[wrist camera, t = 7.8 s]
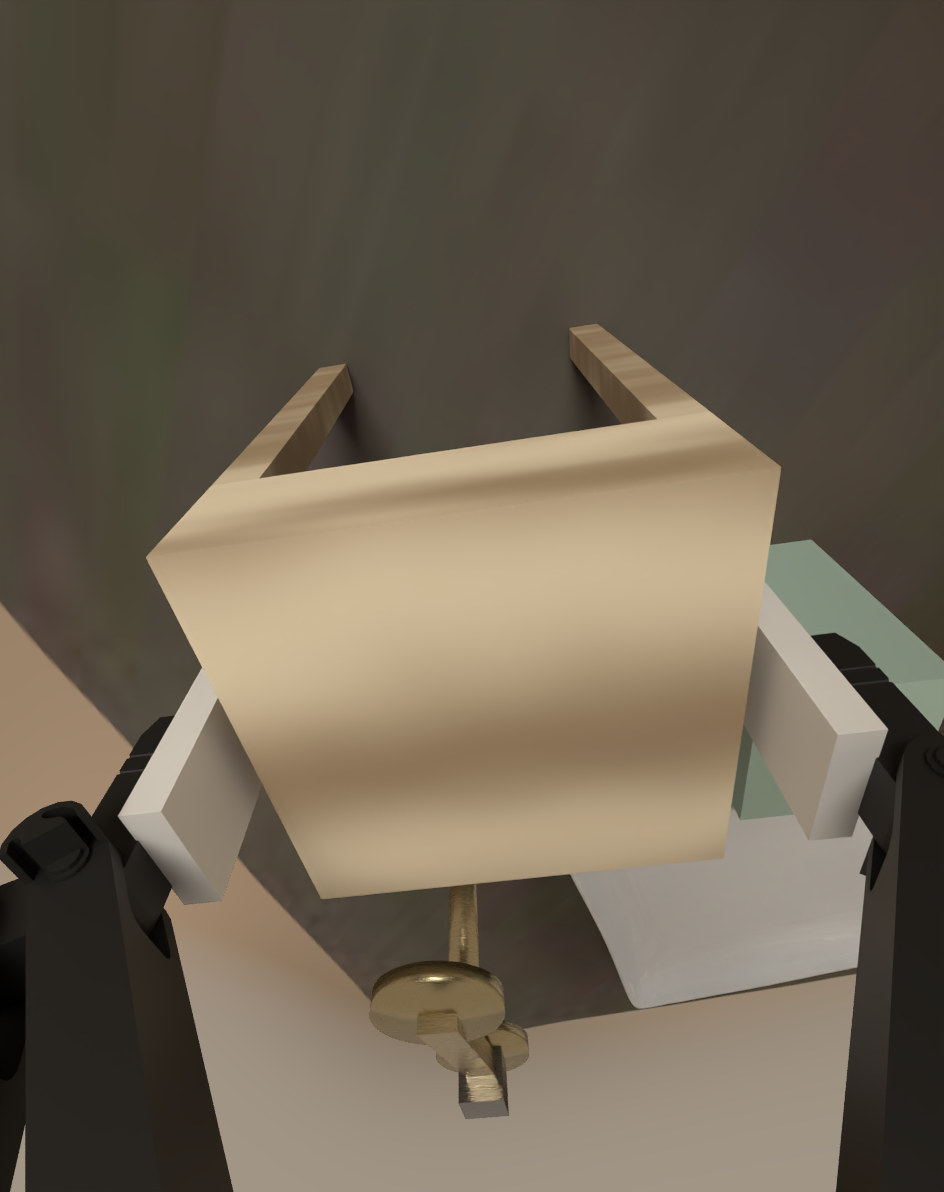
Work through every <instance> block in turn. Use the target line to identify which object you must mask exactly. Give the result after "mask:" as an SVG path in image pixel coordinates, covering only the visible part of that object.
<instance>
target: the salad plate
mask: <svg viewBox="0 0 944 1192" xmlns="http://www.w3.org/2000/svg"><path fill="white" fill-rule="evenodd" d="M872 838H873V836H872V834H871V833H870V831H869V830H868V828H867V827H866V825H865V824H864V822H863V821H862V819H861V818H860V816H859V817H858V820H857V823H856V826H855V829H854V832H853V835H852V837H842V838H832V839H822V840H813V841H809V840H808V839H807V837H806V835H805V833H804V831H803V830H802V828H801V826H800V824H799V822H798V821H797V819H796V817H795V815H785V816H775V817H766V818H757V819H747V820H740V819H739V817H738V815H737V813H736V811H735V809H734V806H733V804H731V811H730V817H729V824H728V831H727V838H726V844H725V851H724V858H723V859H713V860H703V861H693V862H684V863H674V864H664V865H654V866H644V867H634V868H624V869H615V870H605V871H595V872H585V873H575V874H570V875H571V877H572V879H573V881H574V882H575V885H576V887H577V889H578V890H579V892H580V894H581V896H582V898H583V900H584V902H585V903H586V905H587V907H588V909H589V911H590V913H591V915H592V917H593V919H594V921H595V923H596V925H597V926H598V928H599V930H600V932H601V935H602V937H603V939H604V941H605V943H606V945H607V947H608V950H609V952H610V954H611V957H612V959H613V962H614V964H615V966H616V969H617V971H618V974H619V976H620V979H621V982H622V984H623V986H624V989H625V991H626V993H627V996H628V998H629V1000H630V1001H631V1003H632V1004H633V1005H634V1006H635V1007H636V1008H641V1009H643V1008H649V1007H655V1006H660V1005H665V1004H670V1003H676V1002H682V1001H687V1000H693V999H698V998H703V997H708V996H714V995H719V994H725V993H730V992H736V991H741V990H747V989H752V988H757V987H763V986H768V985H773V984H778V983H782V982H787V981H792V980H797V979H802V978H807V977H812V976H816V975H821V974H826V973H831V972H836V971H841V970H846V969H851V968H856V967H857V965H858V954H859V944H860V933H861V923H862V912H863V901H864V891H865V880H866V876H865V875H862V874H859V873H860V870H861V867H862V865H863V862H864V859H865V857H866V854H867V851H868V849H869V846H870V843H871V840H872Z"/></svg>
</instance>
